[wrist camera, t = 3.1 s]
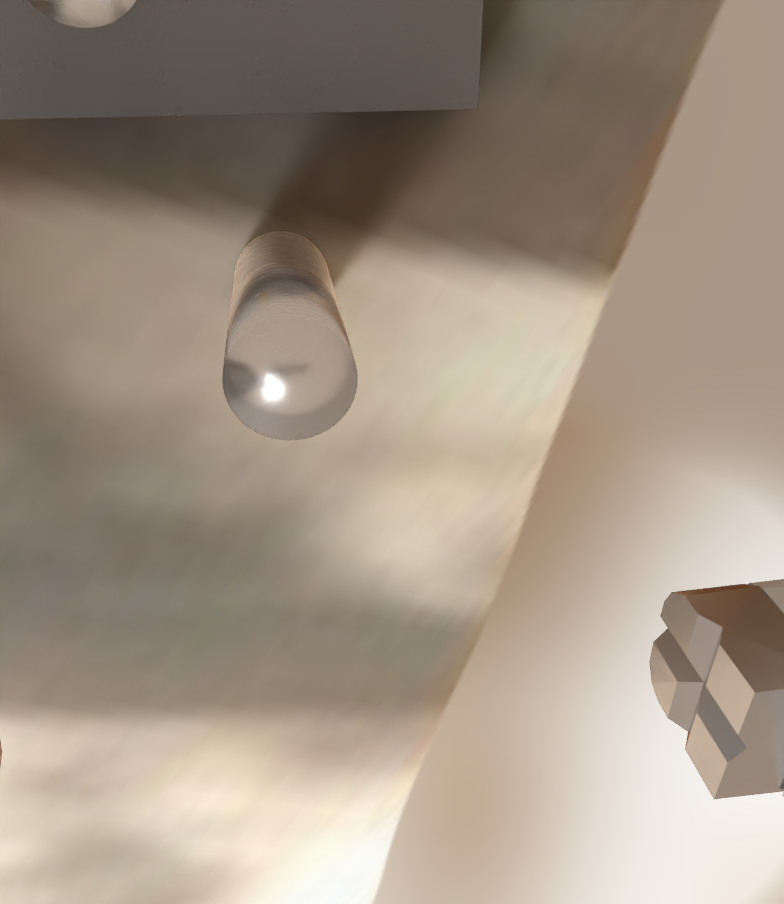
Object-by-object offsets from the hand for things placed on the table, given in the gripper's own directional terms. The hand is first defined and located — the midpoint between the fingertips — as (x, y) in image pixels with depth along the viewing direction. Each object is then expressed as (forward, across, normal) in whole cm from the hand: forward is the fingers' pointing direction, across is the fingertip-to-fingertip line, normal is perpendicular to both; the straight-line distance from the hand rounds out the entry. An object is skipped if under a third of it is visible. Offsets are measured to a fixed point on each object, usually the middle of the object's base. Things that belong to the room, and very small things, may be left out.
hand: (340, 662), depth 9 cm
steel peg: (+17, 0, 0) cm, 17 cm away
